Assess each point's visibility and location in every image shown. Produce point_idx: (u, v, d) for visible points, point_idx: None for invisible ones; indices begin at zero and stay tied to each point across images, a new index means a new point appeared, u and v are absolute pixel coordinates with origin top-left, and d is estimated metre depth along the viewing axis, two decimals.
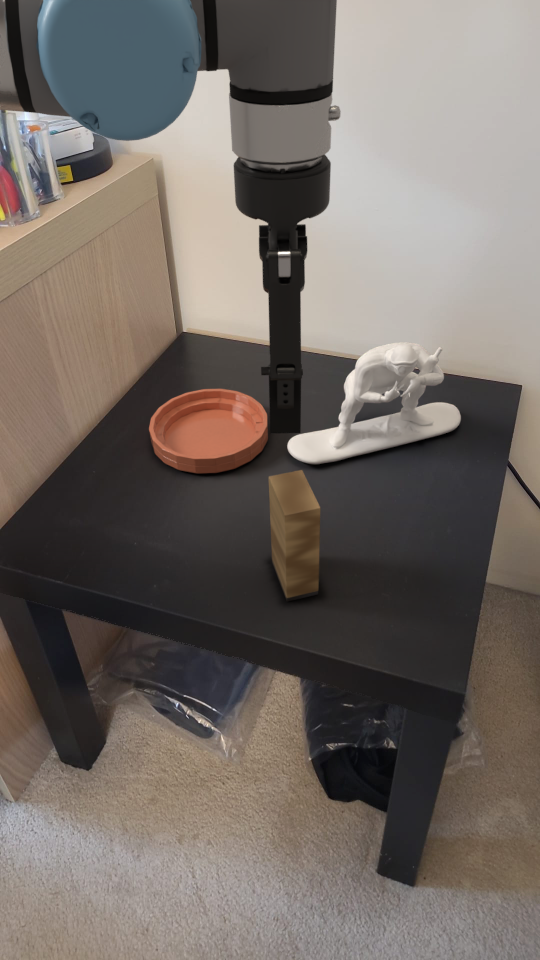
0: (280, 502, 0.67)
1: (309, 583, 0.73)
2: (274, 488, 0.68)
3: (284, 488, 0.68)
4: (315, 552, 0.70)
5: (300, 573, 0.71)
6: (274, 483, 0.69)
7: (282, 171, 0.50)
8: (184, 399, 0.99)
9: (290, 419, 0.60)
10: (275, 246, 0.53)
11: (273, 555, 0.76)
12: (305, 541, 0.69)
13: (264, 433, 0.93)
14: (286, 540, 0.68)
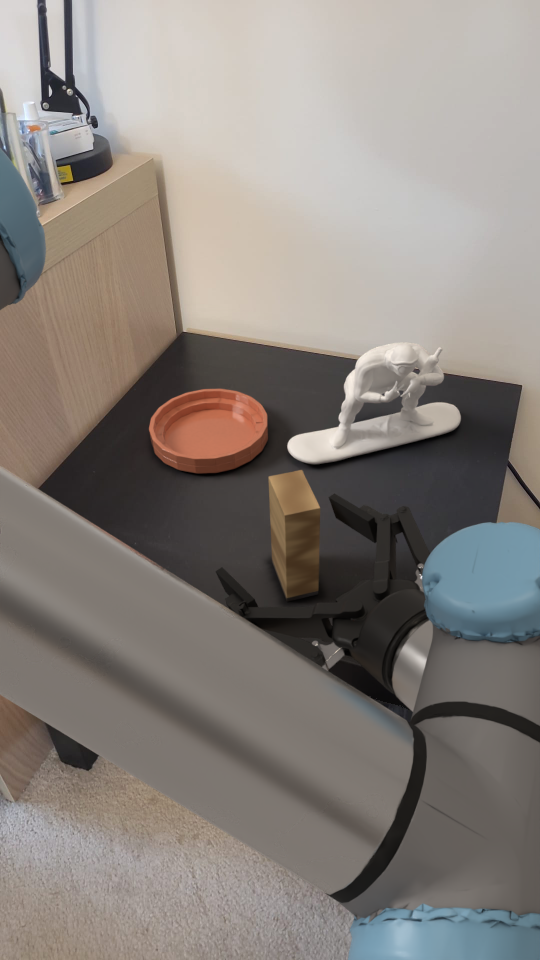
0: (280, 502, 0.67)
1: (309, 583, 0.73)
2: (274, 488, 0.68)
3: (284, 488, 0.68)
4: (315, 552, 0.70)
5: (300, 573, 0.71)
6: (274, 483, 0.69)
7: (392, 681, 0.49)
8: (184, 399, 0.99)
9: (228, 592, 0.64)
10: (338, 645, 0.53)
11: (273, 555, 0.76)
12: (305, 541, 0.69)
13: (264, 433, 0.93)
14: (286, 540, 0.68)
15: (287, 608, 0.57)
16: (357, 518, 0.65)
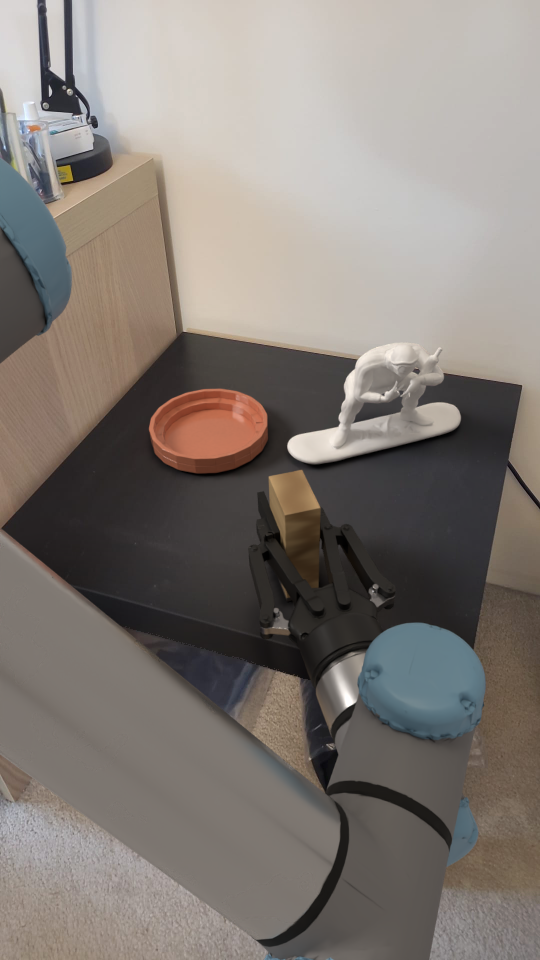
0: (280, 502, 0.67)
1: (309, 583, 0.73)
2: (274, 488, 0.68)
3: (284, 488, 0.68)
4: (315, 552, 0.70)
5: (300, 573, 0.71)
6: (274, 483, 0.69)
7: (318, 682, 0.58)
8: (184, 399, 0.99)
9: (261, 513, 0.74)
10: (288, 626, 0.62)
11: None
12: (305, 541, 0.69)
13: (264, 433, 0.93)
14: (286, 540, 0.68)
15: (290, 563, 0.66)
16: None
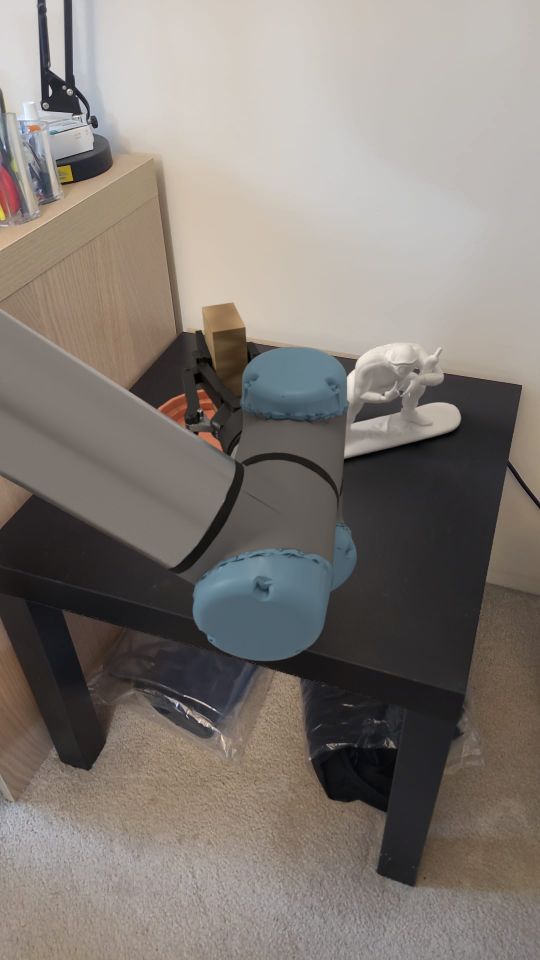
0: (209, 323, 0.73)
1: None
2: (205, 314, 0.74)
3: (214, 314, 0.74)
4: None
5: None
6: (206, 311, 0.75)
7: None
8: (184, 399, 0.99)
9: None
10: (210, 422, 0.68)
11: None
12: (234, 363, 0.75)
13: None
14: (215, 360, 0.74)
15: (217, 378, 0.73)
16: None
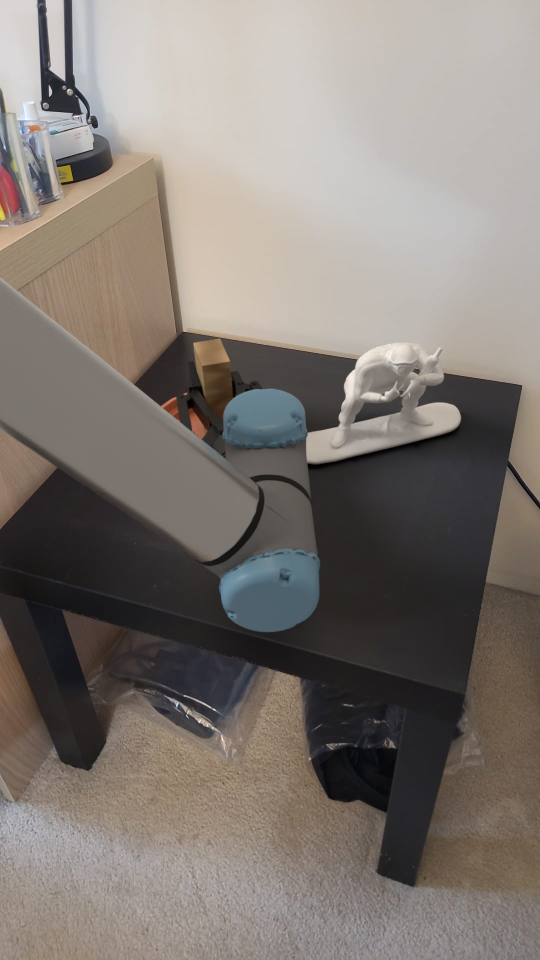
0: (199, 358, 0.86)
1: None
2: (196, 350, 0.88)
3: (204, 349, 0.88)
4: None
5: None
6: (197, 347, 0.88)
7: None
8: None
9: (191, 378, 0.94)
10: None
11: None
12: (221, 391, 0.88)
13: None
14: (205, 389, 0.87)
15: (207, 404, 0.86)
16: None
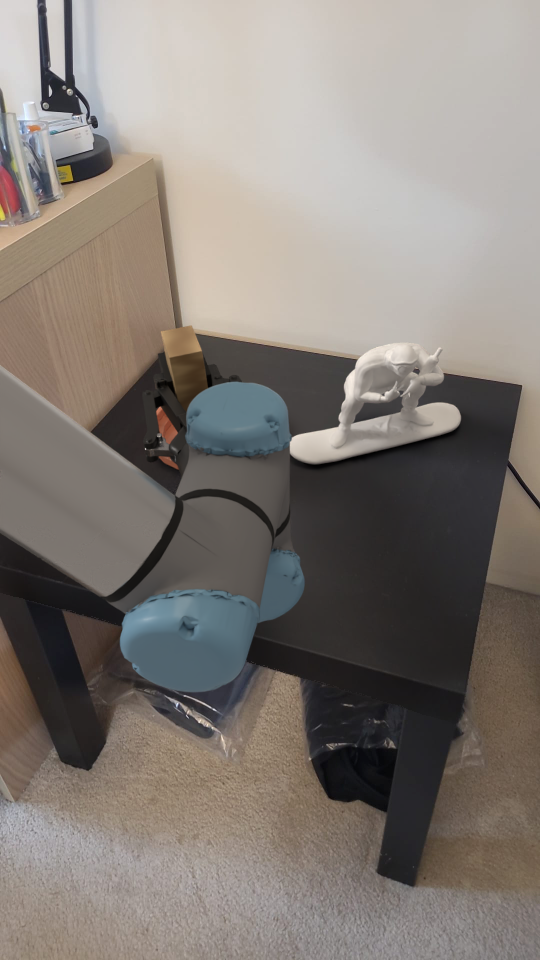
0: (167, 348, 0.74)
1: None
2: (164, 339, 0.76)
3: (173, 338, 0.76)
4: None
5: None
6: (164, 336, 0.76)
7: None
8: None
9: (161, 373, 0.82)
10: (168, 447, 0.69)
11: None
12: (194, 386, 0.76)
13: None
14: (175, 384, 0.75)
15: (177, 402, 0.74)
16: None
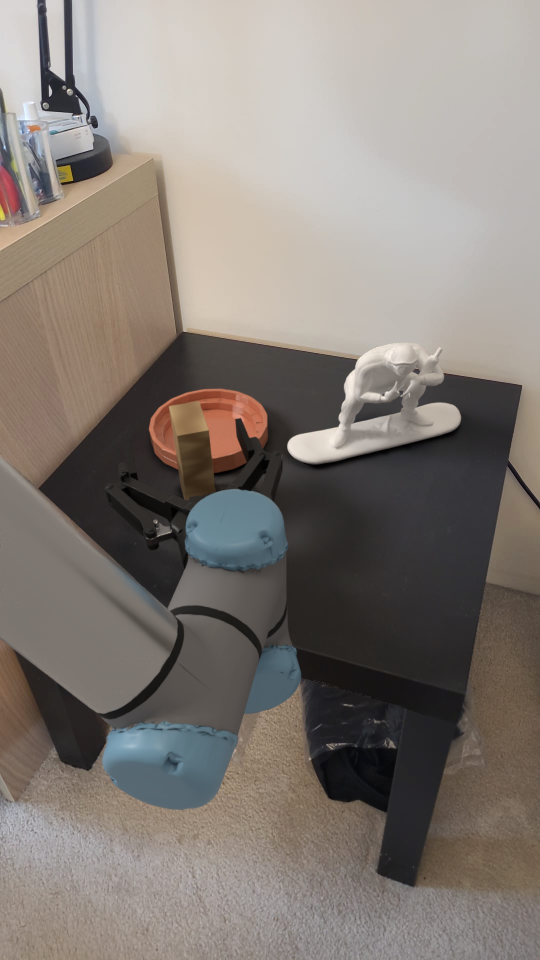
0: (175, 426, 0.77)
1: None
2: (172, 415, 0.78)
3: (180, 415, 0.78)
4: (210, 473, 0.80)
5: (198, 492, 0.81)
6: (172, 411, 0.79)
7: None
8: (184, 399, 0.99)
9: None
10: (170, 529, 0.70)
11: (180, 481, 0.86)
12: (199, 461, 0.79)
13: (264, 433, 0.93)
14: (181, 460, 0.78)
15: (153, 489, 0.74)
16: (244, 444, 0.81)
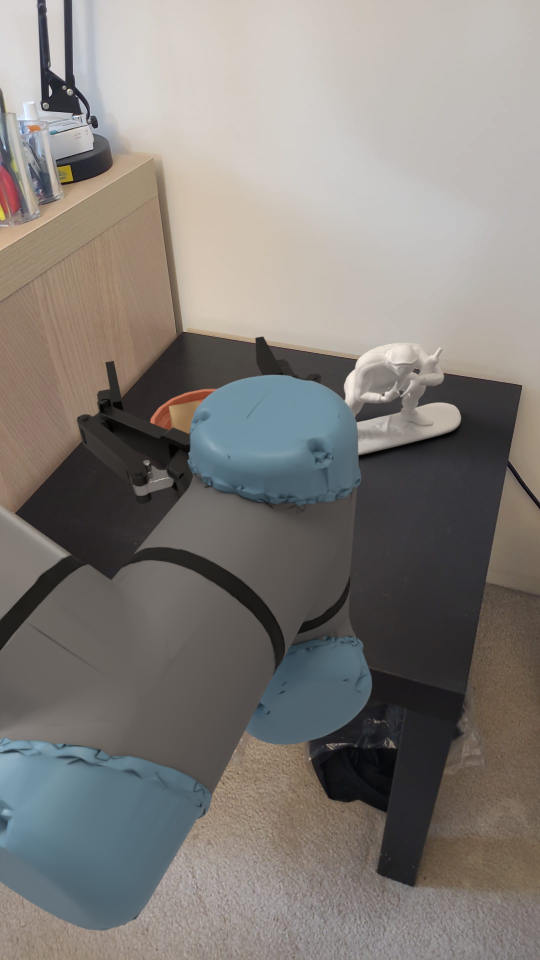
0: (175, 426, 0.77)
1: None
2: (172, 415, 0.78)
3: (180, 415, 0.78)
4: None
5: None
6: (172, 411, 0.79)
7: None
8: (184, 399, 0.99)
9: None
10: (168, 473, 0.49)
11: None
12: None
13: None
14: None
15: (144, 421, 0.53)
16: (268, 368, 0.59)
